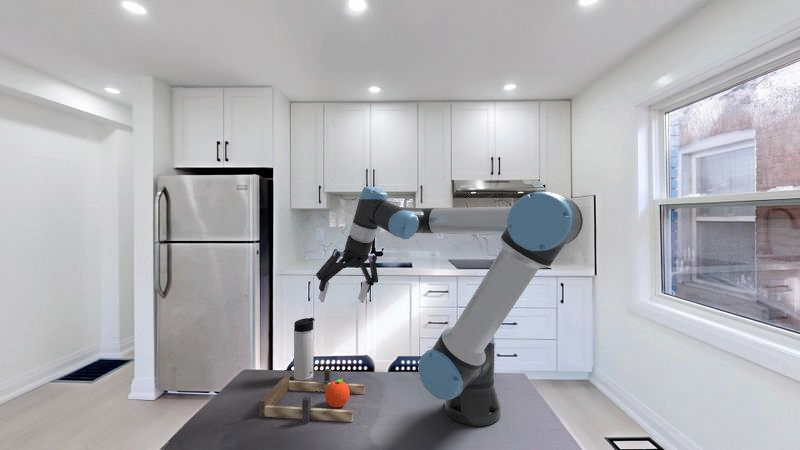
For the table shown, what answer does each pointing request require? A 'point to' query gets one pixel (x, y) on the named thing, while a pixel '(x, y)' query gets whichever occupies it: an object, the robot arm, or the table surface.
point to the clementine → (337, 393)
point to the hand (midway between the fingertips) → (341, 300)
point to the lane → (305, 401)
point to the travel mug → (303, 350)
